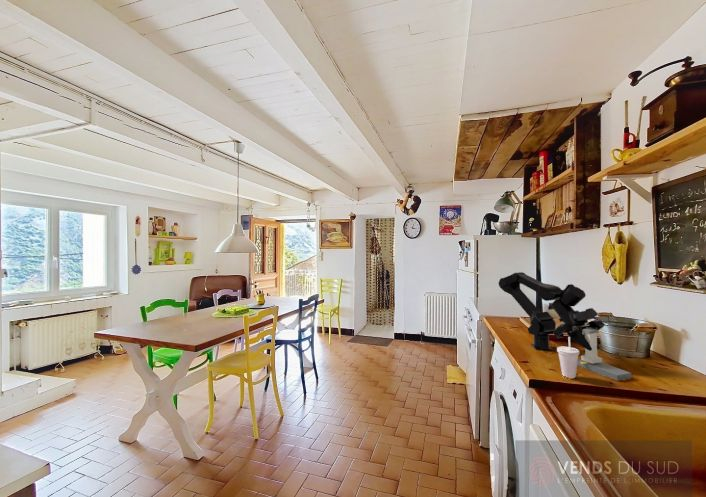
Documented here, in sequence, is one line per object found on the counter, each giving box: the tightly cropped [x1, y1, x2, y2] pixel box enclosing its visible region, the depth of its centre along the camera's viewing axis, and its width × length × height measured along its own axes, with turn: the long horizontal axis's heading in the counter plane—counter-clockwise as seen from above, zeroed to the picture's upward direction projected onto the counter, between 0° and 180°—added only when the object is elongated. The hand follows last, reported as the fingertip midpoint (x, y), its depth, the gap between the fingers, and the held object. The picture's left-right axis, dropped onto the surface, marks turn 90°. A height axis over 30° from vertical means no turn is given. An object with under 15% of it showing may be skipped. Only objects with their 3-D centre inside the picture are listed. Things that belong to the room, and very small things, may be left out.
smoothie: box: [556, 337, 580, 378], centre depth 104 cm, size 6×6×14 cm
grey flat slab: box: [577, 358, 632, 381], centre depth 107 cm, size 14×9×2 cm, turn 12°
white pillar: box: [580, 328, 603, 364], centre depth 111 cm, size 4×4×12 cm
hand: (594, 349), depth 110 cm, fingers closed on white pillar, 3 cm apart
